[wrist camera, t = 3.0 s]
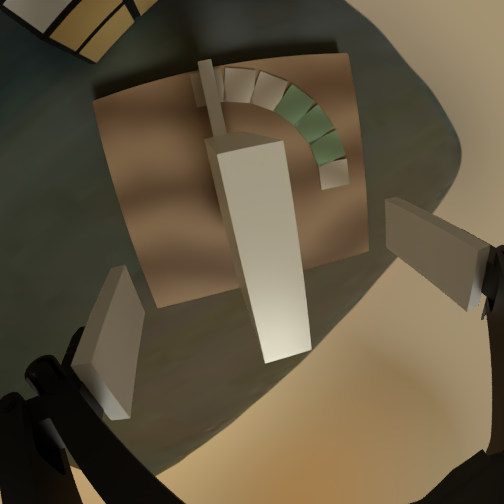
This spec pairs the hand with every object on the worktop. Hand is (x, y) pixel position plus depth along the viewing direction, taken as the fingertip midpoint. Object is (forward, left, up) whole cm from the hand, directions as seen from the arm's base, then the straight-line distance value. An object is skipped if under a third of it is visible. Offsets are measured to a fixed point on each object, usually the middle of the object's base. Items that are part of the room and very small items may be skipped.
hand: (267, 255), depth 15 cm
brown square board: (-1, +1, -12) cm, 12 cm away
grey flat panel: (-3, 0, -10) cm, 11 cm away
